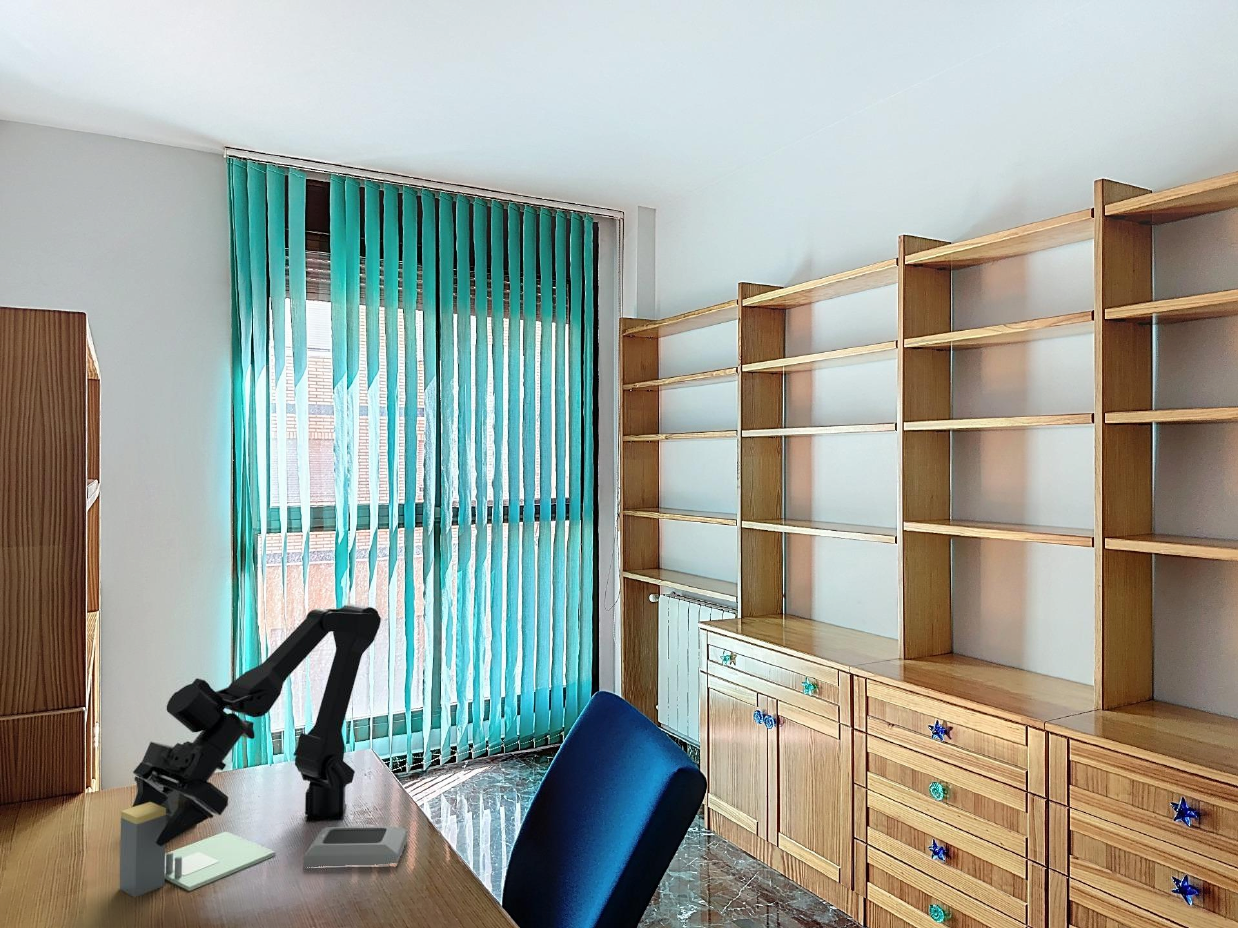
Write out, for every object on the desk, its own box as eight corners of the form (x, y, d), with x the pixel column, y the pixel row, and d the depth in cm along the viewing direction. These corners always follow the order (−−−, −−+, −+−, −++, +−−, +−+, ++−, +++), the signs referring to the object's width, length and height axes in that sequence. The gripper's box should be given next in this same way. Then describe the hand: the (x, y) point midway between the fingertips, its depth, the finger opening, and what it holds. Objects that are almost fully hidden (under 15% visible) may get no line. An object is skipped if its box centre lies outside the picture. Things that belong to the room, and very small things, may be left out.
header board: (225, 834, 154) (226, 814, 154) (275, 855, 146) (275, 833, 146) (140, 866, 141) (140, 844, 141) (189, 890, 134) (189, 867, 134)
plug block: (148, 877, 138) (150, 801, 138) (164, 885, 135) (165, 808, 135) (119, 888, 134) (121, 810, 134) (135, 897, 131) (136, 817, 131)
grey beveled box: (397, 846, 143) (303, 848, 142) (396, 869, 143) (303, 870, 142) (407, 823, 152) (319, 823, 151) (406, 844, 152) (319, 845, 151)
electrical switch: (199, 825, 158) (195, 775, 157) (171, 837, 153) (167, 786, 153) (170, 813, 163) (166, 765, 162) (142, 825, 158) (138, 775, 158)
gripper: (146, 710, 144) (73, 797, 135) (212, 731, 134) (138, 826, 125) (191, 746, 151) (123, 831, 141) (256, 768, 140) (189, 862, 131)
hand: (141, 837), depth 134 cm, fingers open, 9 cm apart
